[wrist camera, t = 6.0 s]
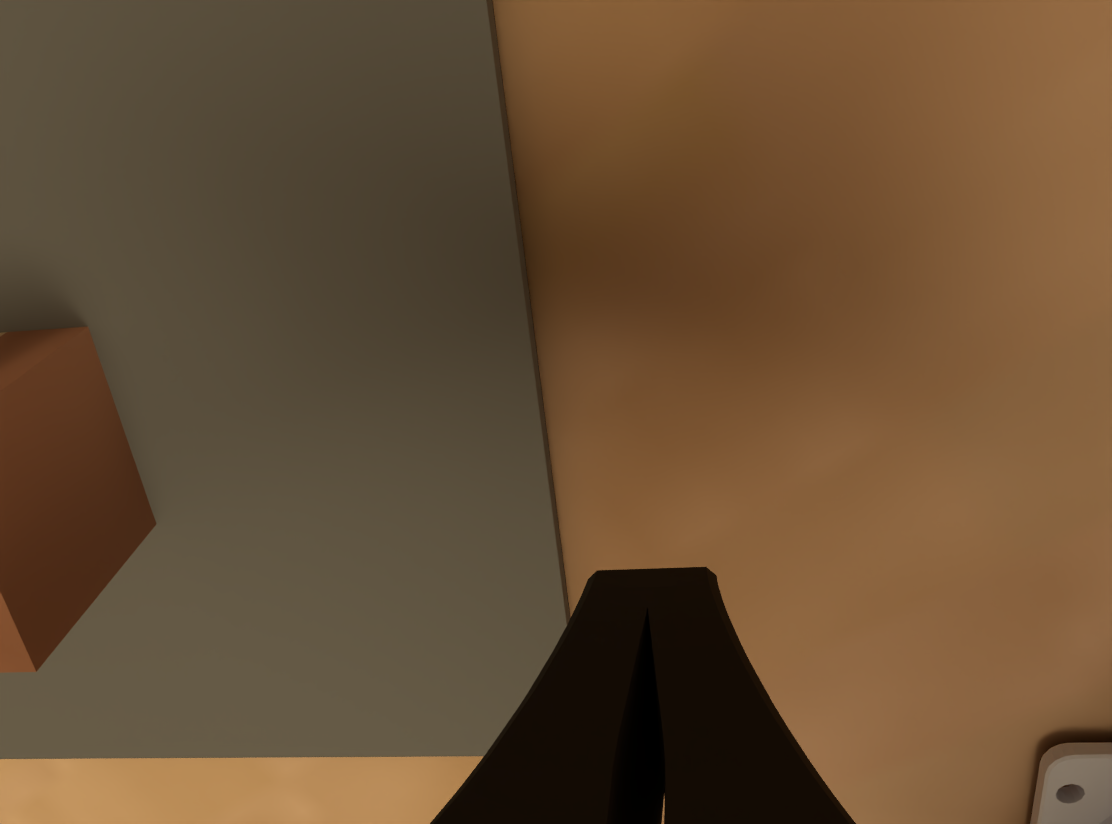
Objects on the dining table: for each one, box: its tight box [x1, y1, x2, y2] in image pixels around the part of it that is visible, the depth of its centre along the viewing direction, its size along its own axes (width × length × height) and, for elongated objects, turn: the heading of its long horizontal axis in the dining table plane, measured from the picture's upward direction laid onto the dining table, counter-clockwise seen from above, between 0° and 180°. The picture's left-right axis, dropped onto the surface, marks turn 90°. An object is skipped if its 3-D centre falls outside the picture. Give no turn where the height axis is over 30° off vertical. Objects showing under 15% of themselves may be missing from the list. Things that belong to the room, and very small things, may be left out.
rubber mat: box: [0, 0, 570, 759], centre depth 18 cm, size 16×20×1 cm
